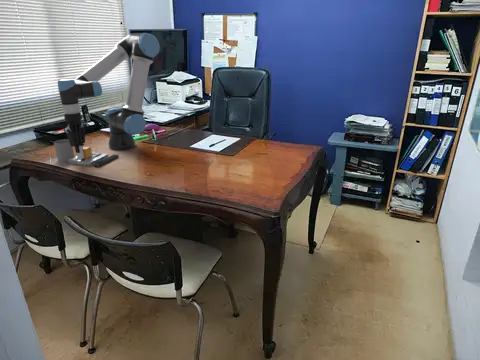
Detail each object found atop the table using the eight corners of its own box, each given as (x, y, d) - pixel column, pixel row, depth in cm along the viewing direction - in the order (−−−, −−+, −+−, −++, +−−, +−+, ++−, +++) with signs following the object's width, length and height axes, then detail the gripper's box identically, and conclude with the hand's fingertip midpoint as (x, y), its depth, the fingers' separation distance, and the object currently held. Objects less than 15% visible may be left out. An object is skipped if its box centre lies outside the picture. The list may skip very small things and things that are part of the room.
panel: (87, 155, 190) (86, 150, 189) (108, 157, 186) (108, 152, 185) (68, 163, 178) (67, 158, 177) (91, 166, 174) (90, 161, 173)
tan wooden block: (85, 156, 182) (84, 146, 180) (92, 156, 181) (90, 147, 179) (80, 158, 178) (78, 148, 176) (87, 159, 177) (85, 149, 175)
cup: (56, 162, 179) (52, 144, 175) (59, 157, 186) (55, 139, 182) (73, 161, 181) (70, 143, 177) (76, 156, 188) (72, 138, 184)
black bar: (113, 156, 188) (113, 154, 187) (118, 157, 187) (118, 154, 186) (93, 167, 173) (92, 164, 172) (98, 167, 172) (98, 164, 171)
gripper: (75, 109, 173) (83, 153, 182) (55, 114, 162) (65, 161, 171) (87, 110, 171) (95, 154, 180) (68, 115, 160) (78, 163, 169)
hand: (80, 158), depth 176 cm, fingers closed
